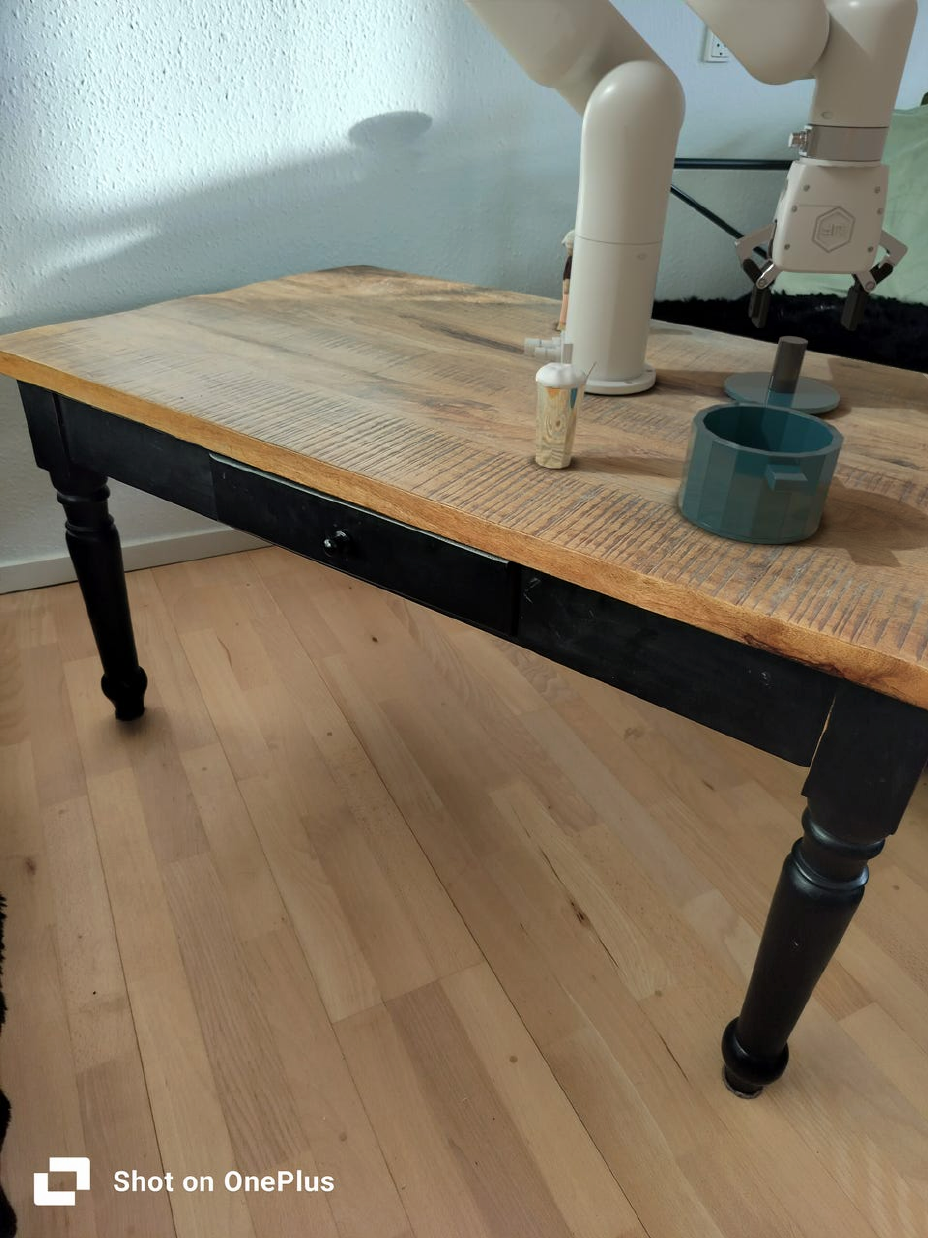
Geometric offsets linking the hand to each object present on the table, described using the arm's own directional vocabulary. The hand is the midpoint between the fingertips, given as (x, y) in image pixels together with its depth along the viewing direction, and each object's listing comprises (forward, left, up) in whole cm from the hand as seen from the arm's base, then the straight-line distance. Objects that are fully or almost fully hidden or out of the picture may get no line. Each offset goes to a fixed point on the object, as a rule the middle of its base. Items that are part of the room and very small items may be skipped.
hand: (802, 325), depth 94 cm
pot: (-11, -30, -8) cm, 33 cm away
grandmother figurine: (-24, +26, -8) cm, 36 cm away
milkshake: (-27, -22, -8) cm, 35 cm away
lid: (-1, 0, -8) cm, 8 cm away
